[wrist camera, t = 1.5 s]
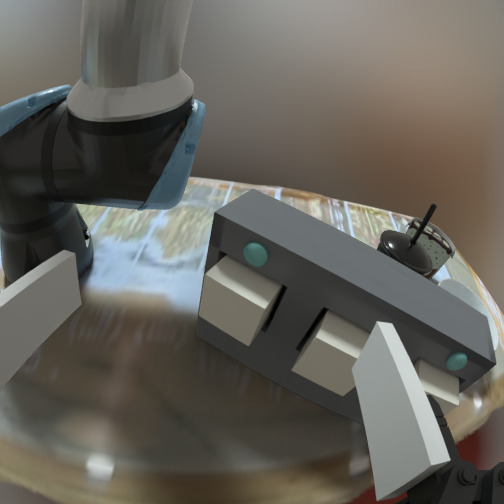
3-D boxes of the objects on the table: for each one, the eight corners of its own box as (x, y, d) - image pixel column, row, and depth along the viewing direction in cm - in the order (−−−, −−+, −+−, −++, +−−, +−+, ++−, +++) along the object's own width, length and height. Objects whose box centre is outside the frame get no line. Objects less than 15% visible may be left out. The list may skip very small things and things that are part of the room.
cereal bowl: (421, 370, 31) (452, 342, 27) (407, 294, 45) (428, 266, 40) (482, 381, 30) (509, 358, 26) (463, 316, 44) (483, 292, 39)
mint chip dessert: (432, 273, 53) (455, 239, 47) (431, 286, 49) (457, 250, 43) (391, 245, 57) (411, 210, 51) (387, 256, 53) (410, 218, 47)
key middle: (342, 396, 19) (376, 368, 16) (291, 370, 20) (316, 337, 17) (354, 361, 22) (384, 329, 19) (307, 337, 24) (331, 301, 20)
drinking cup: (383, 346, 34) (471, 234, 22) (337, 341, 33) (424, 211, 21) (373, 306, 40) (441, 199, 28) (331, 298, 39) (396, 178, 27)
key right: (419, 428, 17) (458, 405, 14) (380, 412, 18) (417, 387, 15) (424, 394, 20) (458, 368, 17) (388, 377, 21) (420, 348, 18)
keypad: (388, 437, 23) (496, 367, 13) (193, 336, 29) (211, 214, 20) (398, 395, 28) (487, 317, 18) (223, 303, 34) (253, 188, 24)
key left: (248, 346, 22) (264, 309, 18) (198, 315, 23) (205, 274, 20) (269, 316, 25) (287, 277, 21) (223, 289, 26) (233, 248, 23)
